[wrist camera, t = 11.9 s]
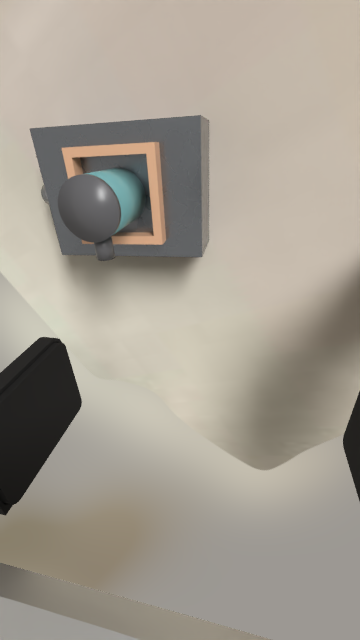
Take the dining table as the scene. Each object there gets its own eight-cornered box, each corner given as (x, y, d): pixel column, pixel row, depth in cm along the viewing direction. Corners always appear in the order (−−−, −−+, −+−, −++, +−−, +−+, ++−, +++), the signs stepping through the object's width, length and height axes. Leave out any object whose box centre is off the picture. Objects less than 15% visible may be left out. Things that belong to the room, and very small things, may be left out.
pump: (142, 166, 27) (111, 173, 21) (150, 240, 30) (126, 263, 24) (92, 169, 28) (49, 176, 22) (105, 240, 31) (72, 263, 25)
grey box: (209, 120, 29) (198, 113, 23) (208, 241, 35) (200, 261, 29) (47, 132, 32) (-1, 129, 26) (72, 240, 39) (38, 258, 32)
